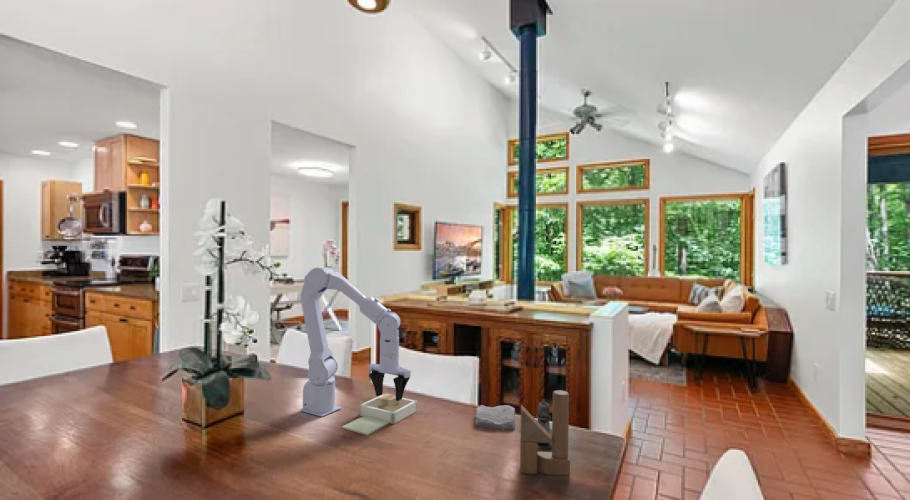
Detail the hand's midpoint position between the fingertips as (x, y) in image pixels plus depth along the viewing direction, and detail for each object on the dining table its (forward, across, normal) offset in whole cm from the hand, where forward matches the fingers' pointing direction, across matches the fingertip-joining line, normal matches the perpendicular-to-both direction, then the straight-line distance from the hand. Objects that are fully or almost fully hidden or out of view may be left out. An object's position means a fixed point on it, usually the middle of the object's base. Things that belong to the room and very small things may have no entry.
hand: (389, 397), depth 129 cm
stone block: (+5, -31, -10) cm, 33 cm away
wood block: (+5, 0, 0) cm, 5 cm away
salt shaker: (+5, -47, -3) cm, 48 cm away
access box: (+5, 0, 0) cm, 5 cm away
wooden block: (+5, -52, +9) cm, 53 cm away
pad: (+5, 0, +11) cm, 12 cm away
